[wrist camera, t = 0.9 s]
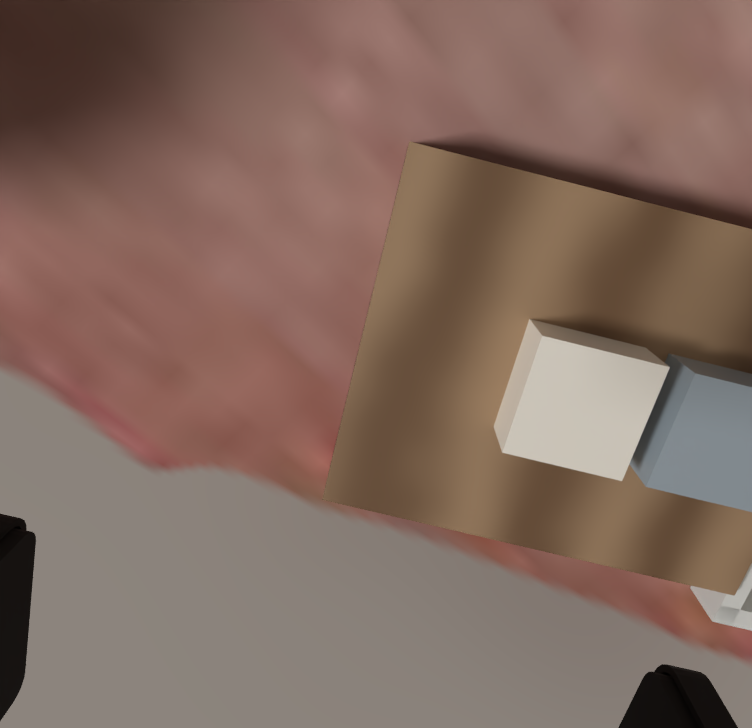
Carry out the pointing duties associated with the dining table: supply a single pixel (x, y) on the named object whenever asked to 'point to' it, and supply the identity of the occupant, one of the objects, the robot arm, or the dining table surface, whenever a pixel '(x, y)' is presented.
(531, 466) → the tan wooden board
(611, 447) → the cream tile
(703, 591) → the box
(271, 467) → the dining table surface
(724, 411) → the slate tile
